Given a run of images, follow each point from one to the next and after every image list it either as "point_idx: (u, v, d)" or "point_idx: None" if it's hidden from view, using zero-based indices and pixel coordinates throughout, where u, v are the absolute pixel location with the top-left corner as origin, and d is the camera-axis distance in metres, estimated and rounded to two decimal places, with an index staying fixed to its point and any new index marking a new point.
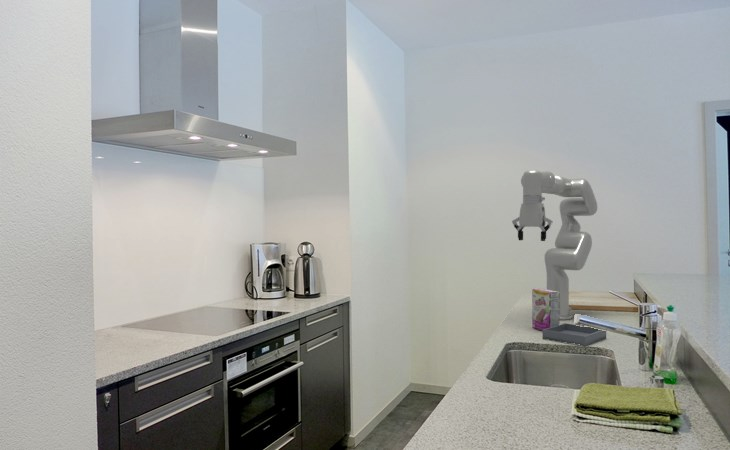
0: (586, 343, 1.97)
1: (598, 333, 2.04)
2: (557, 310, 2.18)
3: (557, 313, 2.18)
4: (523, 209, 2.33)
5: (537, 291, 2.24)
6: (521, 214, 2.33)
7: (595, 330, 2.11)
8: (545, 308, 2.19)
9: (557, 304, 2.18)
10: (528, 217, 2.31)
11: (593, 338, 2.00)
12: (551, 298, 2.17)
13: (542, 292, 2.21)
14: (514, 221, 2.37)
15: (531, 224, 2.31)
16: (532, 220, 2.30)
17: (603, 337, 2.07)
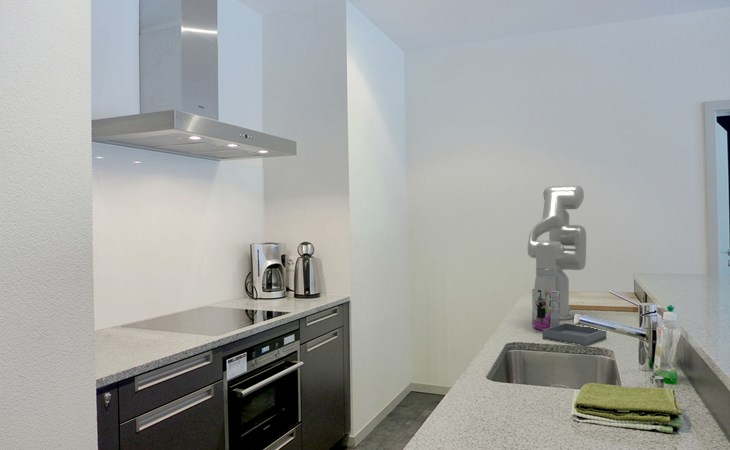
0: (586, 343, 1.97)
1: (598, 333, 2.04)
2: (557, 310, 2.18)
3: (557, 313, 2.18)
4: (547, 283, 2.19)
5: None
6: (546, 289, 2.19)
7: (595, 330, 2.11)
8: (545, 308, 2.19)
9: (557, 304, 2.18)
10: None
11: (593, 338, 2.00)
12: (551, 298, 2.17)
13: None
14: (538, 299, 2.18)
15: None
16: None
17: (603, 337, 2.07)
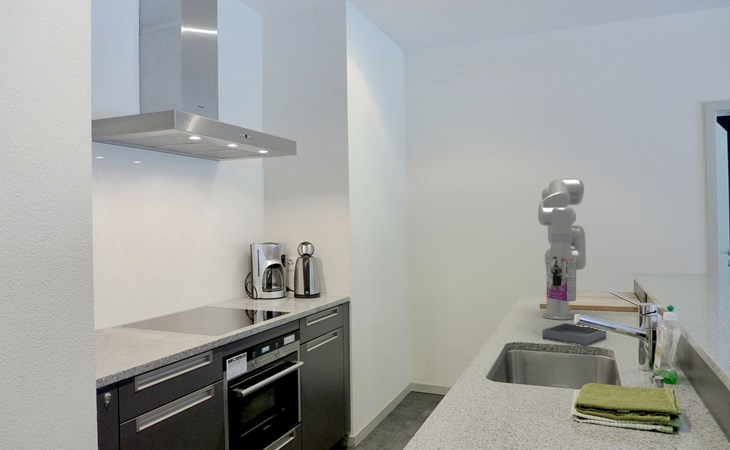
0: (586, 343, 1.97)
1: (598, 333, 2.04)
2: (574, 277, 2.10)
3: (574, 281, 2.10)
4: (563, 249, 2.11)
5: None
6: (562, 255, 2.10)
7: (595, 330, 2.11)
8: (561, 276, 2.11)
9: (574, 271, 2.10)
10: None
11: (593, 338, 2.00)
12: (568, 265, 2.09)
13: None
14: (554, 266, 2.09)
15: None
16: None
17: (603, 337, 2.07)
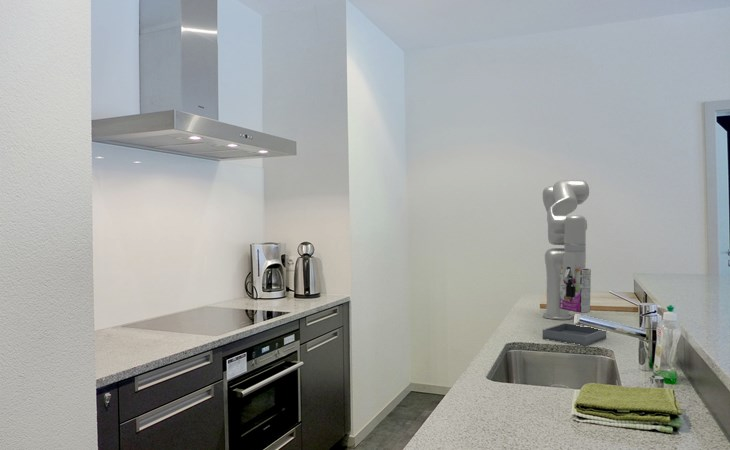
0: (586, 343, 1.97)
1: (598, 333, 2.04)
2: (588, 288, 2.03)
3: (588, 292, 2.03)
4: (577, 259, 2.04)
5: None
6: (575, 265, 2.03)
7: (595, 330, 2.11)
8: (575, 286, 2.04)
9: (588, 282, 2.03)
10: None
11: (593, 338, 2.00)
12: (582, 275, 2.02)
13: None
14: (568, 276, 2.03)
15: None
16: None
17: (603, 337, 2.07)
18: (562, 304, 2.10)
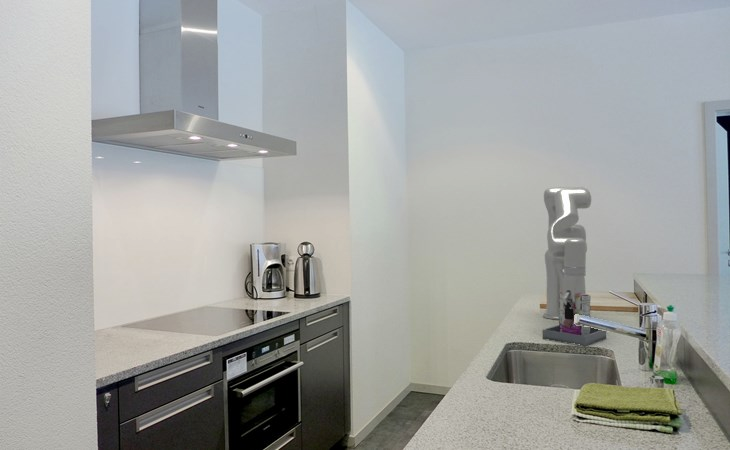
0: (586, 343, 1.97)
1: (598, 333, 2.04)
2: (588, 314, 2.04)
3: None
4: (577, 283, 2.04)
5: None
6: (575, 289, 2.04)
7: (595, 330, 2.11)
8: (575, 312, 2.05)
9: (588, 308, 2.04)
10: (580, 291, 2.06)
11: (593, 338, 2.00)
12: (582, 302, 2.02)
13: None
14: (567, 298, 2.02)
15: None
16: None
17: (603, 337, 2.07)
18: (562, 329, 2.11)
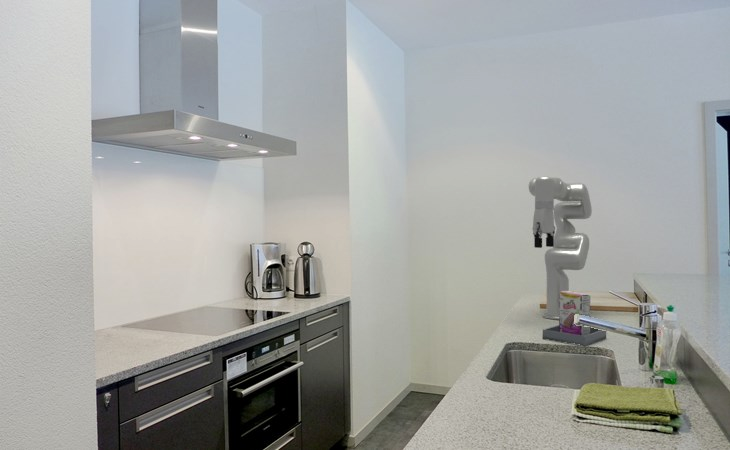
0: (586, 343, 1.97)
1: (598, 333, 2.04)
2: (588, 314, 2.04)
3: None
4: (545, 215, 2.28)
5: (565, 294, 2.09)
6: (544, 221, 2.27)
7: (595, 330, 2.11)
8: (575, 312, 2.05)
9: (588, 308, 2.04)
10: (548, 224, 2.29)
11: (593, 338, 2.00)
12: (582, 302, 2.02)
13: (571, 295, 2.06)
14: (536, 228, 2.26)
15: (549, 231, 2.30)
16: (550, 227, 2.31)
17: (603, 337, 2.07)
18: (562, 329, 2.11)
